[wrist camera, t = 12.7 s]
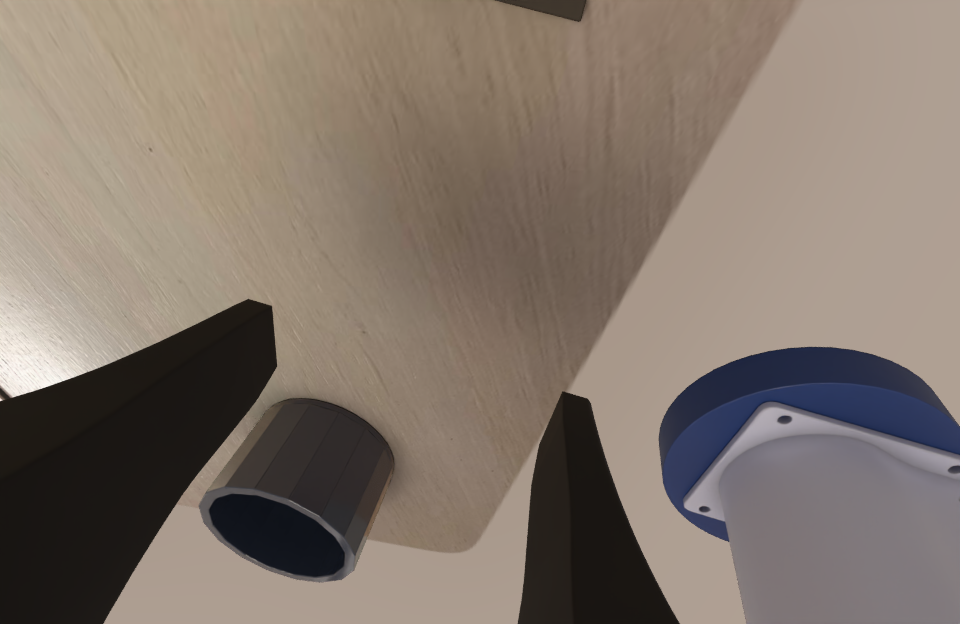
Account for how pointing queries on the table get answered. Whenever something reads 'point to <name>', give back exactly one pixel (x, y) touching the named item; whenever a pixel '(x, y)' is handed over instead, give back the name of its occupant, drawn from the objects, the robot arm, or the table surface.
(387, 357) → the table surface
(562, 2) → the mat
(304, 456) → the pot
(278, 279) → the table surface
